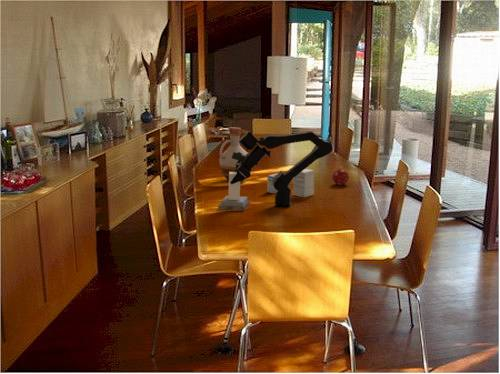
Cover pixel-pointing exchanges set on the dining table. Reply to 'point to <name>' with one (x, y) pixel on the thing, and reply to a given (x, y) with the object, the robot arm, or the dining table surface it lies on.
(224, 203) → the slate top slab
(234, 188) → the ivory pillar block
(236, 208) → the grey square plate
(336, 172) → the christmas ornament
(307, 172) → the supplement box
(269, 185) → the medicine box
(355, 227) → the dining table surface
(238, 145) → the jug
